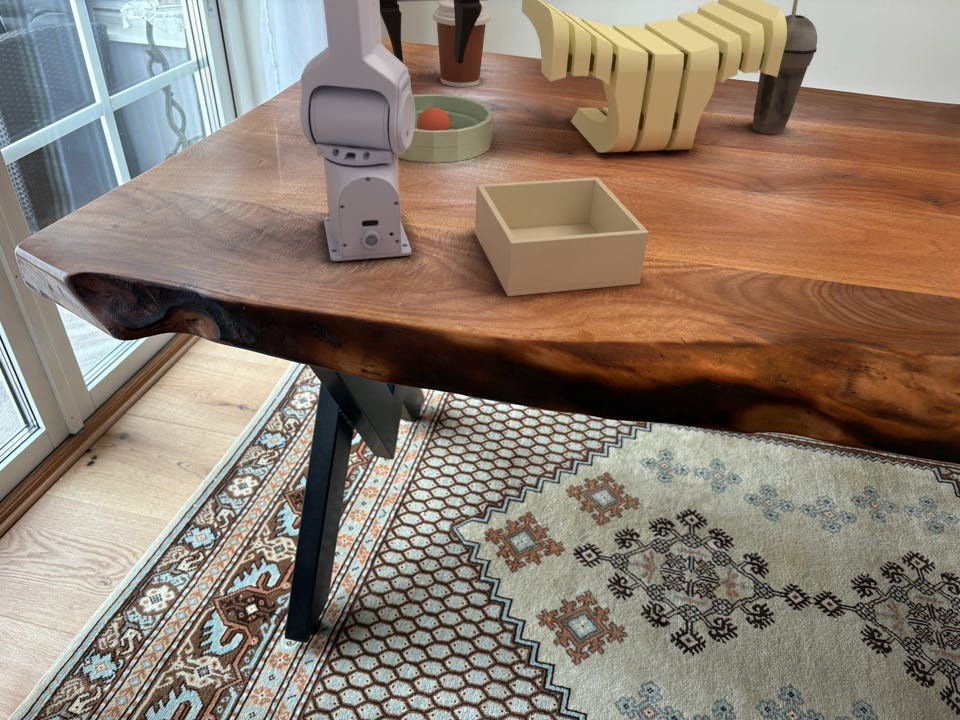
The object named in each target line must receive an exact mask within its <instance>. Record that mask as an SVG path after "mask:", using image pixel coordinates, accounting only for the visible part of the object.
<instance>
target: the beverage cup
mask: <svg viewBox="0 0 960 720" xmlns="http://www.w3.org/2000/svg"><path fill="white" fill-rule="evenodd" d="M798 1H799V0H793V2H792V9H791V14H788V15H785V18H786V23H787V38H786V44H785V48H784V52H783V56H782V60H781V64H780V68H779V72H778V76H777V77H775V76H772V75H768V74H764V73H763V72H761V71H759V79H758V84H757V91H756V98H755V104H754V110H753V116H752V117H753V120H752V126H751V128H752V129H753V130H754V131H755V132H759V133H761V134H766V135H781V134H783V133H784V132H785V128H786V126H787V123H788V122H789V120H790V117H791V115H792V111H793V108H794V106H795V103H796V100H797V98H798V95H799V93H800V89H801V86H802V85H803V84H802V83H803V81H804V79H805V76H806V73H807V70H808V67H810V65H811V63H812V60H813V58H814V55H815V53H817V49H818V47H817V45H818V32H817V29H816V27H815V25H814V23H813V22H812V21H811V20H810V19H809V18H808V17H806V16H805V15H801V14H797V8H798V3H799V2H798Z"/></svg>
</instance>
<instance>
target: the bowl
mask: <svg viewBox="0 0 960 720" xmlns="http://www.w3.org/2000/svg"><path fill="white" fill-rule="evenodd" d="M412 95H413V97H414V102H415V127H414V134H413V139H412V142H411V145H410V147H409V148H408V149H407V150H406V151H405V152H404V153H403V154H402V155H398V159H401V160H406V161H409V162H419V163H428V164H429V163H431V164H433V163H434V164H438V163H439V164H440V163H455V162H463V161H465V160H470V159H475V158H477V157H479V156H481V155H482V154H484V153H486V152H488V151H489V150H490V148H491V145H492V143H493V127H494V125H493V124H494V122H493V121H494V112H492V109H490V107H489V106H488V105H486V104H484V103H481V102H479V101H477V100H475V99H471V98H466V97H462V96H457V95H448V94H447V95H446V94H438V93H437V94H436V93H432V94H431V93H429V94H412ZM431 107H436V108H439V109H441V110H443V111H444V112H445V113H446V114H447V115H448V117H449V119H450V130H439V131H430V130H419V129H417V120H418V117H419V115H420V114H421V113H422V112H423V111H424V110H425V109H427V108H431Z"/></svg>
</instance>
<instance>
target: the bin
mask: <svg viewBox="0 0 960 720" xmlns="http://www.w3.org/2000/svg"><path fill="white" fill-rule="evenodd" d="M475 196H476V197H475V219H474V220H475V221H474V222H475V225H474V234H475V236H476V238H477V240H478V242H479V244H480V246H481V248H482V250H483V252H484V254H485V255H486V257H487V260H488V261H489V263H490V265H491V267H492V269H493V271H494V272H495V275H496V277H497V279H498V280H499V283H500V285H501V286H502V288H503V290H504V292H505V295H506V296H507V297H516V296H526V295H535V294H537V295H538V294H547V293H559V292H569V291H579V290H590V289H601V288H602V289H603V288H611V287H623V286H632V285H640V283H641V279H642V272H643V267H644V261H645V257H646V251H647V245H648V240H649V231H648V230H647V229H646V227H644V225H643V224H642V223H641V222H640V221H639V220H638V219H637V218H636V216H634V214H633V213H632V212H631V211H630V210H629V208H627V207H626V206H625V205H624V204H623V203H622V202H621V201H620V199H619V198H618V197H617V196H616V195H615V194H614V193H613V192H612V191H611V190H610V189H609V187H607V186H606V184H605V183H604V182H603V181H602V180H601V179H600V178H599V177H597V176H596V177H583V178H581V177H580V178H564V179H547V180H534V181H533V180H532V181H531V180H530V181H518V182H517V181H516V182H515V181H514V182H498V183H484V184H483V183H482V184H476V195H475Z"/></svg>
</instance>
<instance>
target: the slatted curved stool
mask: <svg viewBox="0 0 960 720" xmlns="http://www.w3.org/2000/svg"><path fill="white" fill-rule="evenodd" d="M521 12H522V13H523V14H524V15H525V16H526V18H527V19H528V20H529V22H530V24H532V26H533V28H534V30H535V32H536V35H537V38H538V41H539V46H540V47H539V49H540V63H541V64H540V72H541V73H542V74H543V76H544V77H545V78H547V80H548V81H549V82H550V83H551V82H554V81H557V80H562V79H566V78H567V73H569V74H570V75H571V76H572V77H589V73H590V75H592V76H593V77H594V78H595V79H598V80H601V82H602V87H603V90H604V93H605V97H606V102H607V107H606V106H603V107H601V110H599V109H598V108H597V107H578V108H577V110H576V111H575V114H574V115H573V117H572V118H571V119H570V123H571V124H572V125H573V126H574V127H575V128H576V129H577V130H578V131H579V133H580V134H581V135H582V136H583V137H584V139H586V141H587V142H588V143H589V144H590V145H591V146H592V147H593V149H595V151H596V152H597V153H601V154H602V153H604V154H605V153H626V152H627V153H628V152H630V151H631V152H655V151H657V152H658V151H659V152H660V151H663V150H664V151H680V150H681V151H682V150H683V151H684V150H692V149H693V147H694V142H695V137H696V133H697V129H698V125H699V122H700V120H701V118H702V116H703V113H704V111H705V109H706V107H707V105H708V104H709V101H710V100H711V97H712V96H713V94H714V89H715V85H716V81H718V82H720V84H723V83H725V81H727V80H729V79H731V78H733V77H736V76H738V73H739V72H741V73H743V74H751V73H752V74H753V73H754V74H758V73H759V72H760V71H761V72H763V73H764V74H768V75H772V76H775V77H777V76H778V72H779V68H780V64H781V60H782V56H783V52H784V48H785V44H786V38H787V23H786V18H785V16H786V15H785V13H784V12H783V10H782V8H780V7H778V6H776V5H774V4H771V3H769V2H766V1H764V0H717V2H716V1H714V0H710V1H708V2H706V3H704V4H702V5H700V6H698V7H697V12H695V11H693V10H689V11H686V12H683V13H681V14H679V15H678V14H677V20H676V19H674V18H673V17H669V18H664V19H662V20H659V21H658V20H657V21H653V22H648V23H644V27H643V26H642V25H640V24H626V25H625V24H612V26H610V25H609V24H607V23H603V22H598V21H593V20H590V19H586V18H583V17H581V18H578V17H577V16H576V15H574V14H571V13H569V12H567V11H564V10H559V8H557V7H556V6H554V5H552V4H550V3H548V2H546V1H544V0H521Z"/></svg>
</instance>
